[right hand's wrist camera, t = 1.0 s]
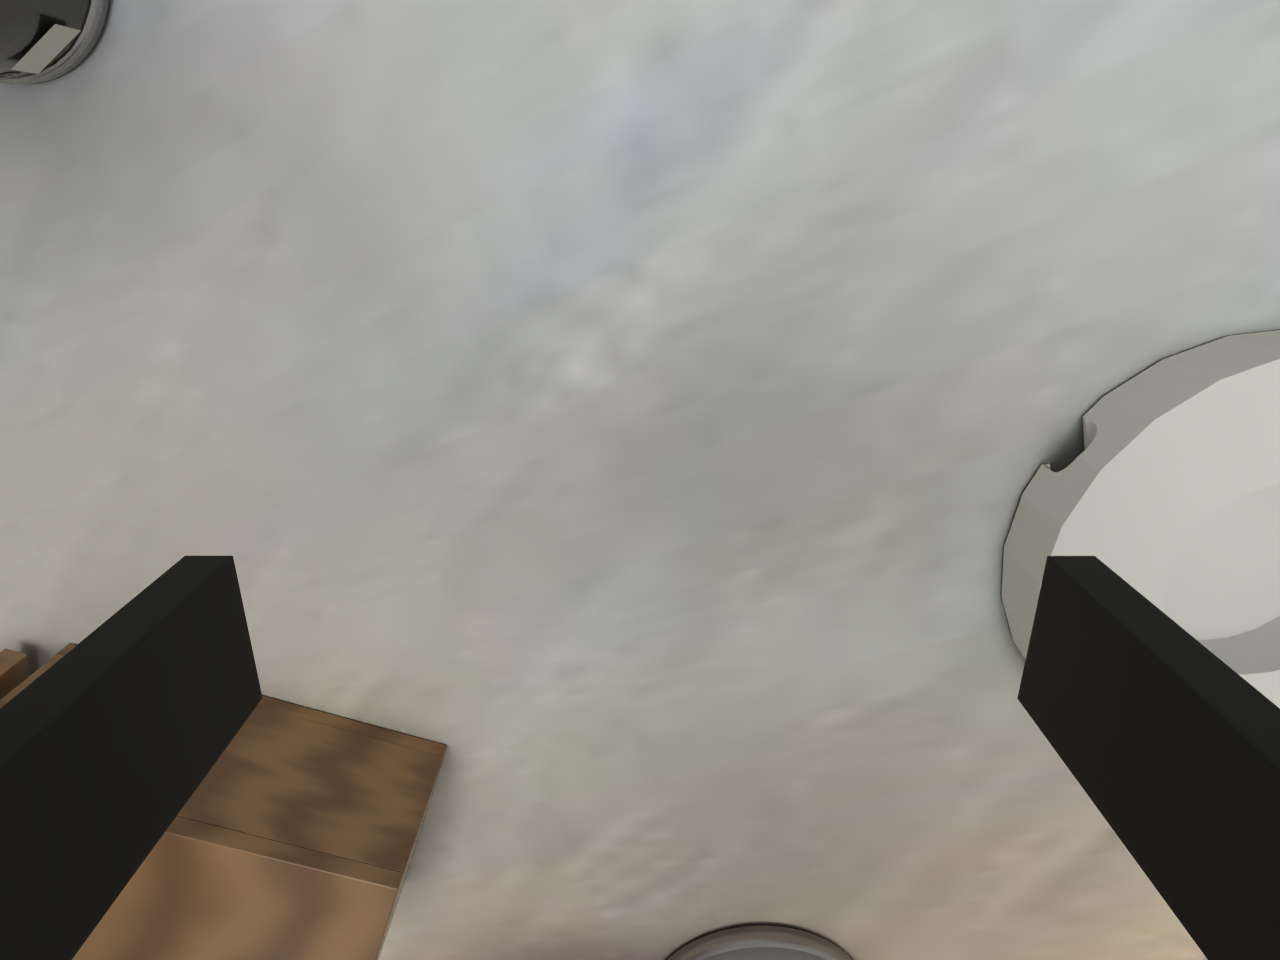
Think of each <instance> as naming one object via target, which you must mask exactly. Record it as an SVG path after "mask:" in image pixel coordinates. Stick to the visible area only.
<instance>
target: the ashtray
mask: <svg viewBox="0 0 1280 960" xmlns="http://www.w3.org/2000/svg"><path fill="white" fill-rule="evenodd" d="M1083 432H1084V452H1082V453H1081V454H1080V455H1079V456H1078V457H1077V458H1076V459H1075V460H1074V461H1073V462H1072V463H1071V464H1070V465H1069V466H1067V467H1066V468H1065V469H1063V470H1061V471H1059V472H1052V470H1051V469H1050V464H1047V465H1044V464H1042V465H1041V466H1040V468H1039V469H1038V471H1037V473H1036V474H1035V476H1034V477H1033V479H1032V480H1031V482H1030V483H1029V485H1028V486H1027V488H1026V489H1025V491H1024V492H1023V494H1022V497H1021V500H1020V502H1019V505H1018V508H1017V511H1016V514H1015V517H1014V520H1013V523H1012V526H1011V528H1010V531H1009V534H1008V537H1007V540H1006V543H1005V546H1004V558H1003V577H1002V595H1001V597H1002V601H1003V605H1004V609H1005V612H1006V616H1007V620H1008V624H1009V627H1010V631H1011V635H1012V639H1013V642H1014V643H1015V645H1016V646H1017V648H1018V649H1019V651H1020V652H1021V654H1022V655H1023V657H1024V658H1025V660H1026V656H1027V651H1028V646H1029V641H1030V636H1031V632H1032V627H1033V622H1034V617H1035V612H1036V608H1037V603H1038V598H1039V593H1040V588H1041V584H1042V579H1043V574H1044V569H1045V564H1046V559H1047V556H1096V557H1097V558H1098V559H1099V560H1100V561H1102V562H1103V563H1104V564H1105V565H1106V566H1108V567H1109V568H1110V569H1111V570H1113V571H1114V572H1115V573H1116V574H1117V575H1119V576H1120V577H1121V578H1122V579H1123V580H1125V581H1126V582H1127V583H1128V584H1129V585H1131V586H1132V587H1133V588H1134V589H1136V590H1137V591H1138V592H1139V593H1140V594H1142V595H1143V596H1144V597H1145V598H1146V599H1148V600H1149V601H1150V602H1151V603H1152V604H1154V605H1155V606H1156V607H1157V608H1159V609H1160V610H1161V611H1162V612H1163V613H1165V614H1166V615H1167V616H1168V617H1169V618H1171V619H1172V620H1173V621H1174V622H1176V623H1177V624H1178V625H1179V626H1180V627H1182V628H1183V629H1184V630H1185V631H1186V632H1188V633H1189V634H1190V635H1191V636H1192V637H1194V638H1195V639H1196V640H1197V641H1199V642H1200V643H1201V644H1202V645H1203V646H1205V647H1206V648H1207V649H1208V650H1209V651H1211V652H1212V653H1213V654H1214V655H1215V656H1217V657H1218V658H1219V659H1220V660H1222V661H1223V662H1224V663H1225V664H1226V665H1228V666H1229V667H1230V668H1231V669H1232V670H1234V671H1235V672H1236V673H1237V674H1239V675H1240V676H1241V677H1242V678H1243V679H1245V680H1246V681H1247V682H1248V683H1249V684H1251V685H1252V686H1253V687H1254V688H1255V689H1257V690H1258V691H1259V692H1260V693H1262V694H1263V695H1264V696H1265V697H1266V698H1268V699H1269V700H1270V701H1271V702H1272V703H1274V704H1275V705H1276V706H1277V707H1279V708H1280V330H1274V331H1266V332H1257V333H1248V334H1240V335H1231V336H1226V337H1223V338H1221V339H1218V340H1215V341H1212V342H1209V343H1207V344H1204V345H1201V346H1198V347H1196V348H1193V349H1190V350H1187V351H1184V352H1182V353H1179V354H1176V355H1173V356H1171V357H1168V358H1165V359H1162V360H1161V361H1159V362H1158V363H1156V364H1154V365H1153V366H1151V367H1150V368H1148V369H1146V370H1145V371H1143V372H1142V373H1140V374H1139V375H1137V376H1135V377H1134V378H1132V379H1131V380H1129V381H1127V382H1126V383H1124V384H1123V385H1121V386H1119V387H1118V388H1116V389H1115V390H1113V391H1111V392H1110V393H1108V394H1107V395H1105V396H1104V397H1103V398H1102V399H1100V400H1099V401H1098V402H1097V403H1096V404H1095V405H1094V406H1093V407H1092V408H1091V409H1090V410H1089V411H1088V412H1087V413H1086V414H1085V415H1084V416H1083Z"/></svg>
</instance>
